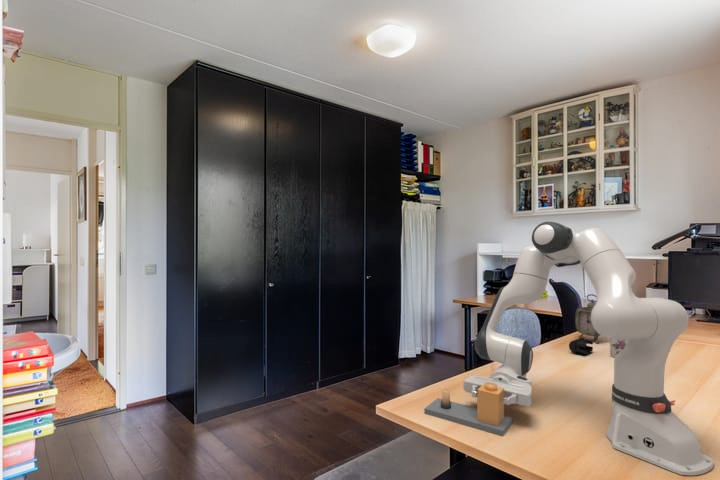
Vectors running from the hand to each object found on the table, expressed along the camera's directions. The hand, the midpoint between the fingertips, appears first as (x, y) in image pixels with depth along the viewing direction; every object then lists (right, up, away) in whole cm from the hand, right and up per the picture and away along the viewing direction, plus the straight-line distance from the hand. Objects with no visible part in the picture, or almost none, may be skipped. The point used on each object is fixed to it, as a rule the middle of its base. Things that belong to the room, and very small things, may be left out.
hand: (489, 398), depth 115 cm
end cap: (+68, -8, +73) cm, 100 cm away
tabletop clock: (+87, -8, +96) cm, 130 cm away
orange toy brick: (+1, -6, +1) cm, 7 cm away
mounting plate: (-5, -8, +5) cm, 11 cm away
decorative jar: (+86, -8, +65) cm, 108 cm away
